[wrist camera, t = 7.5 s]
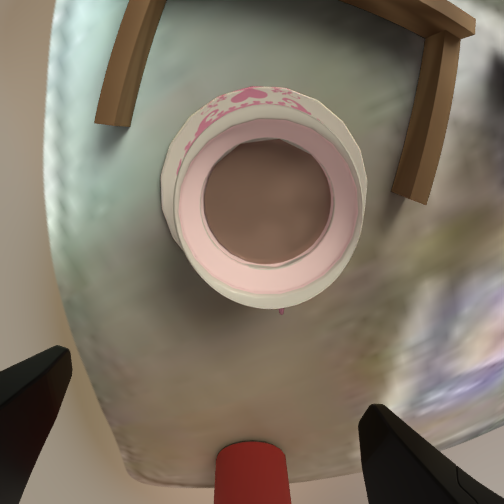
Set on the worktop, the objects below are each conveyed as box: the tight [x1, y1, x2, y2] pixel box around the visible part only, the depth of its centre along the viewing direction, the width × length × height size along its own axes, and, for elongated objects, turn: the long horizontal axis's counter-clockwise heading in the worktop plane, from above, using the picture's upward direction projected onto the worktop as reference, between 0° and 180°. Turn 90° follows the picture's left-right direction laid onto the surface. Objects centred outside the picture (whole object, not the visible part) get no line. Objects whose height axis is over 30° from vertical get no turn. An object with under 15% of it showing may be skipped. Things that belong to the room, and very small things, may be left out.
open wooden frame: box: [94, 0, 476, 205], centre depth 14 cm, size 18×12×4 cm, turn 76°
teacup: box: [161, 86, 367, 315], centre depth 15 cm, size 12×12×6 cm
